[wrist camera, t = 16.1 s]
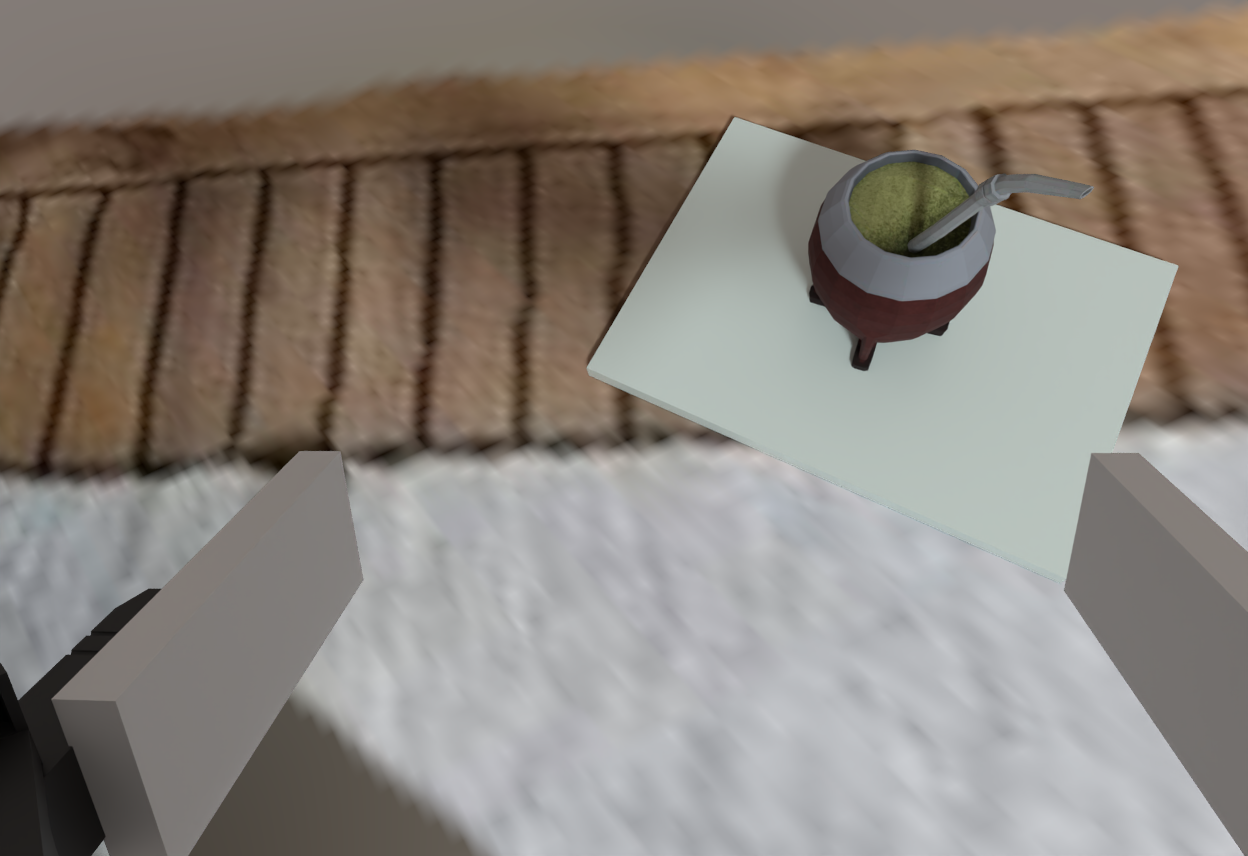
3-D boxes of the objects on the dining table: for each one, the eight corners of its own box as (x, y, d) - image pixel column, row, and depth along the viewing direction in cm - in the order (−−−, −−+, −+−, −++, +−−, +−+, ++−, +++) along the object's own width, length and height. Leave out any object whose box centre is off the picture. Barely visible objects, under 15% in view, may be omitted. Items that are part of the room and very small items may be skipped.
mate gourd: (822, 232, 42) (874, -43, 28) (990, 273, 40) (1135, 1, 26) (777, 365, 39) (810, 135, 25) (954, 414, 37) (1093, 196, 24)
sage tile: (588, 375, 41) (586, 367, 40) (734, 127, 46) (734, 116, 45) (1060, 583, 35) (1067, 579, 34) (1169, 275, 40) (1178, 265, 39)
